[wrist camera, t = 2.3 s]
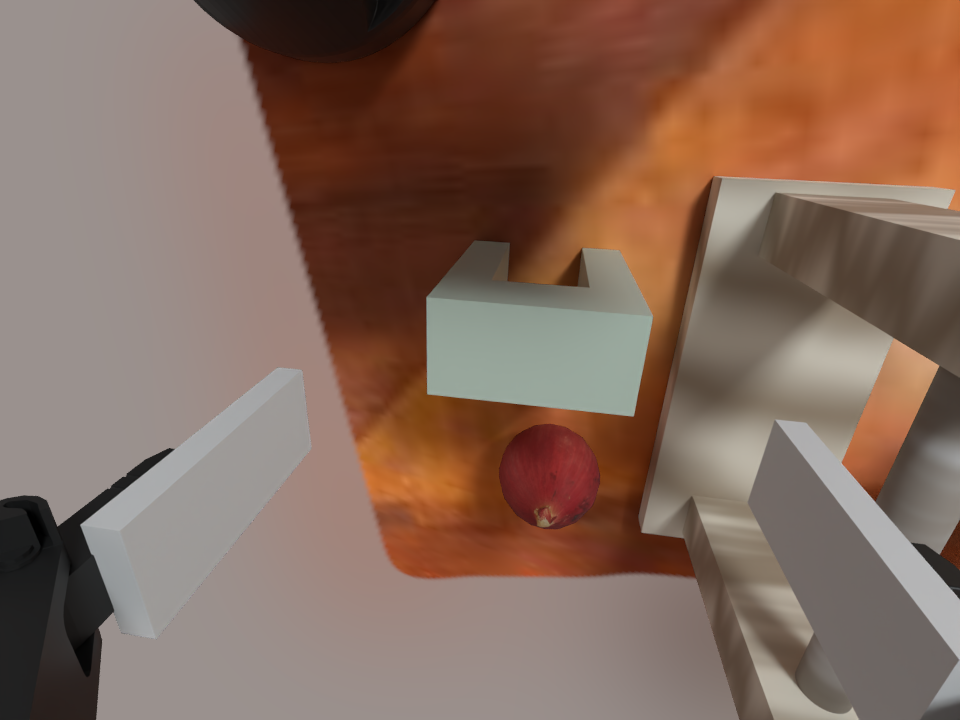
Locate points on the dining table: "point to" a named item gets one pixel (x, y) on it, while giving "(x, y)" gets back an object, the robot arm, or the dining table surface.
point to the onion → (549, 476)
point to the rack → (801, 399)
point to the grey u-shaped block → (538, 334)
